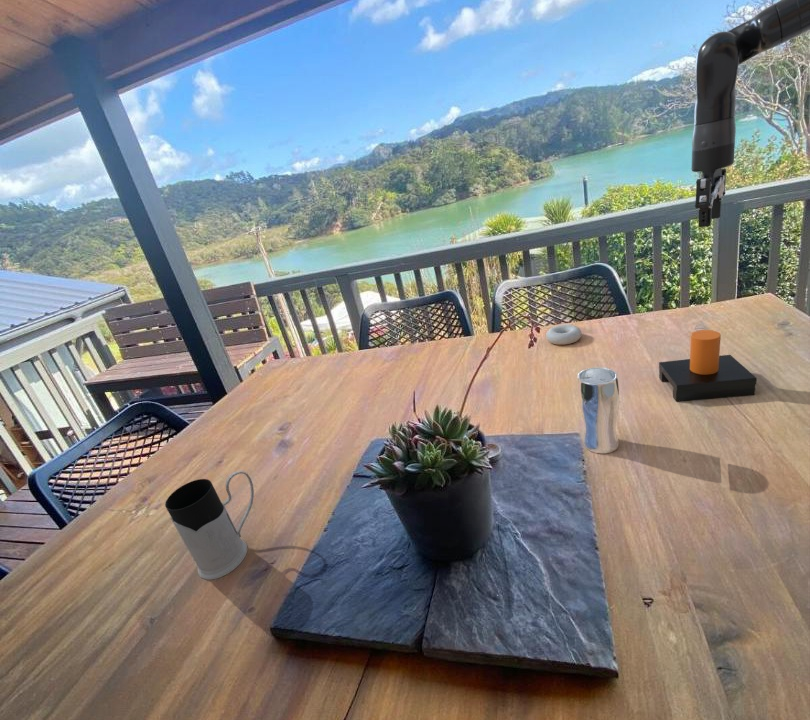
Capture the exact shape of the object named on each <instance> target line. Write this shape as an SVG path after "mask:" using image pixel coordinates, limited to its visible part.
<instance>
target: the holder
mask: <svg viewBox="0 0 810 720" xmlns="http://www.w3.org/2000/svg"><path fill="white" fill-rule="evenodd" d="M241 474H244V476H245V477H246V479H248V483H249V488H250V497H249V503H248V504H247V507H246V510H245V512H244V515H243V516H242V519H241V521H240V523H239V525H238V527H237V528H236V526H235V524H234V523H233V520H232V518H231V516H230V515H229V512H228V510H227V508H226V505H228V504H229V503H230V502H231V501H232V494H231V493H232V492H231V490H230V482H231V480H232V479H233V478H234V477H235V476H237V475H241ZM225 491H226V493H227V496H228V497H227V499H226V500H225V501H223V502H222V501H221V499H220V497H219V495H218V492H217V491H216V489H215V487H214V485H213V483H212V481H211V480H210V479H207V478H199V479H194V480H191V481H189V482H187V483H185V484H184V485H181V486H180V487H178V488H177V489H175V490H174V491H173V492H171V494H170V495H169V496H168V497H167V498H166V500H165V504H164V507H165V509H166V511H167V512H168V514H169V516H170V520H171V522H172V523H173V525H174V527H175V529H176V531H177V533H178V534H179V536H180V537H181V539H182V542H183V543H184V545H185V547H186V549H187V550H188V552H189V553H190V555H191V557H192V559H193V561H194V562H195V564H196V566H197V574H198V576H199V577H200V578H201V579H203V580H207V581H208V580H209V581H211V580H217V579H220V578H222V577H225V576H226V575H228V574H230V573H231V572H232V571H234V570H235V569H236V568H238V566H240V564H241V563H242V562H243V561H244V559H245V558H246V555H247V552H248V545H247V543H246V541H244V539H242V534H241V531H242V529H243V526H244V524H245V522H246V520H247V518H248V516H249V513H250V510H251V508H252V507H253V503H254V497H255V496H254V495H255V494H254V493H255V490H254V483H253V481H252V478H251V476H250V475H249V474H248V473H247V472H245V471H243V470H238V471H235V472H233V473H231V474H230V475H229V476H228V477H227V479H226V482H225Z"/></svg>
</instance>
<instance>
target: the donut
mask: <svg viewBox="0 0 810 720" xmlns="http://www.w3.org/2000/svg"><path fill="white" fill-rule="evenodd" d="M581 337H582V329H580V327H578V326H576V325H573V324H558V325H556V326H552V327H550V328H549V329H548V330H547V331H546V333H545V338H546V340H547V341H548V343H550V344H553V345H558V346H562V345H563V346H564V345H571V344H573V343H576V342H578V341H579V340H580V339H581Z"/></svg>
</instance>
